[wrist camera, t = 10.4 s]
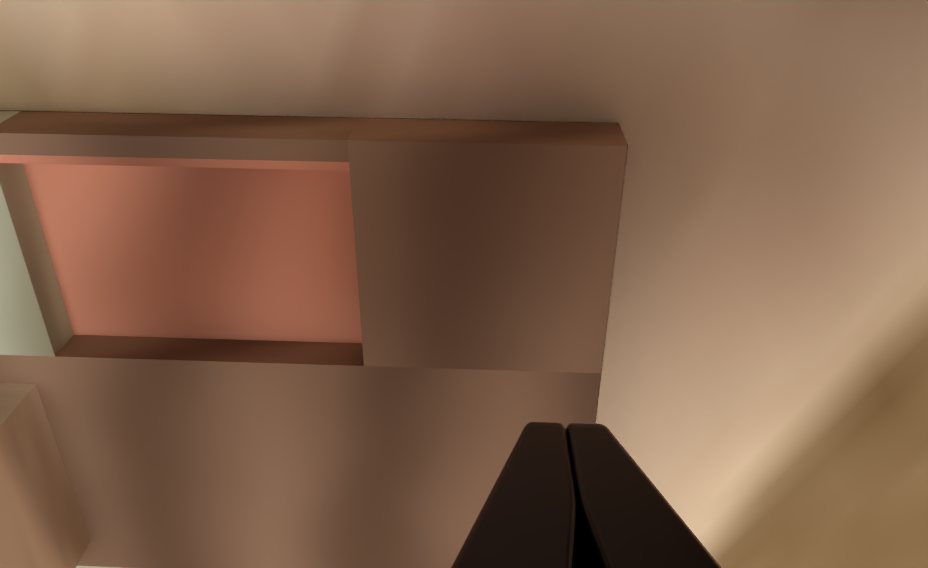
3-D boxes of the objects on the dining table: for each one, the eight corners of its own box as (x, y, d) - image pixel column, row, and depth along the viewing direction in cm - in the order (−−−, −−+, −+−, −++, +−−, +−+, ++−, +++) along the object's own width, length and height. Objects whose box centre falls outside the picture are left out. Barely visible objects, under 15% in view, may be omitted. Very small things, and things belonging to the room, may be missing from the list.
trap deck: (618, 122, 18) (636, 167, 16) (559, 662, 28) (564, 738, 26) (-348, 103, 19) (-469, 143, 16) (-66, 635, 29) (-116, 706, 26)
